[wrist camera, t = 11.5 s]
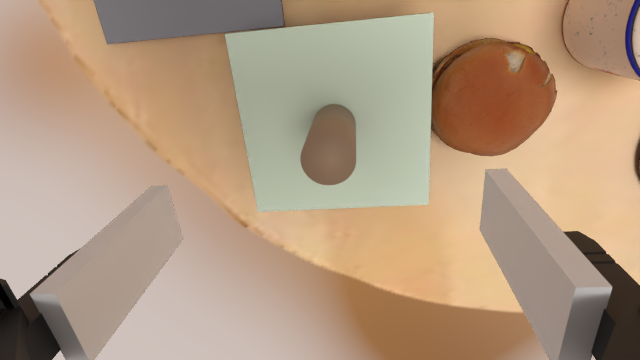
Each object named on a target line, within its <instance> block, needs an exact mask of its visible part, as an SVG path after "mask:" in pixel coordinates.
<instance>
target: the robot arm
mask: <svg viewBox="0 0 640 360" xmlns="http://www.w3.org/2000/svg"><path fill="white" fill-rule="evenodd" d="M480 231H481V233H482V235H483V237H484V239H485V241H486V243H487V244H488V246H489V248H490V250H491V252H492V254H493V256H494V257H495V259H496V261H497V263H498V265H499V267H500V269H501V270H502V272H503V274H504V276H505V278H506V280H507V282H508V283H509V285H510V287H511V289H512V291H513V293H514V295H515V297H516V298H517V300H518V302H519V304H520V306H521V308H522V310H523V311H524V313H525V315H526V317H527V319H528V320H529V322H530V324H531V326H532V328H533V330H534V332H535V334H536V336H537V337H538V339H539V341H540V343H541V345H542V347H543V349H544V350H545V352H546V354H547V356H548V358H549V360H591V357H592V354H593V356H594V357H595V359H596V360H640V285H639V284H638V283H637V282H636V281H635V280H634V279H633V278H632V277H631V276H630V275H629V274H628V273H627V272H626V271H625V270H624V269H623V268H622V267H621V266H620V265H619V264H616V263H615V260H614V259H613V258H612V257H611V256H610V255H609V254H606V251H605V250H604V249H603V248H602V247H601V246H600V245H599V244H598V243H597V242H596V241H594V240H593V239H591V238H589V237H587V236H586V235H584V234H582V233H580V232H578V231H572V232H563V231H562V230H561V229H560V228H559V227H558V226H557V224H556V223H555V222H554V221H553V220H552V219H551V218H550V217H549V216H548V214H547V213H546V212H545V211H544V210H543V209H542V208H541V207H540V206H539V204H538V203H537V202H536V201H535V200H534V199H533V198H532V197H531V195H530V194H529V193H528V192H527V191H526V190H525V189H524V188H523V187H522V185H521V184H520V183H519V182H518V181H517V180H516V179H515V178H514V177H513V175H512V174H511V173H510V172H509V171H508V170H507V169H488V170H486V171H485V181H484V191H483V201H482V211H481V221H480ZM182 240H183V235H182V232H181V229H180V225H179V222H178V219H177V216H176V212H175V209H174V205H173V202H172V199H171V195H170V192H169V189H168V186H151V187H150V188H148V189H147V190H146V191H145V192H144V193H143V194H142V195H141V196H140V197H138V198H137V199H136V200H135V201H134V202H133V203H132V204H130V206H128V207H127V208H126V209H125V210H124V211H123V212H121V213H120V214H119V215H118V216H117V217H116V218H115V219H114V220H112V221H111V222H110V223H109V224H108V225H107V226H106V227H104V228H103V229H102V230H101V231H100V232H99V233H98V234H97V235H95V236H94V237H93V238H92V239H91V240H90V241H89V242H88V243H87V244H85V245H84V246H83V247H82V248H81V249H79V250H77V251H75V252H74V253H72V254H70V255H69V256H67V257H66V258H65V259H64V260H63V261H62V262H61V263H60V264H58V265H57V267H55V268H54V269H53V270H51V271H50V272H49V273H48V275H47V276H44V277H43V279H41V280H40V281H39V282H38V283H36V285H34V286H33V287H32V288H31V289H30V290H28V291H27V292H26V293H25V294H24V295H23V296H22V297H21V298H19V299H18V300H17V299H16V297H15V296H14V294H13V292H12V290H11V289H10V287H9V285H8V283H7V282H6V280H3V279H0V360H52V359H53V358H54V357H55V356H56V354H57V353H58V352H59V351H60V350H61V352H62V354H63V356H64V357H65V359H66V360H94V359H95V358H96V357H97V355H98V354H99V353H100V351H101V350H102V349H103V347H104V346H105V345H106V343H107V342H108V341H109V339H110V338H111V336H112V335H113V334H114V332H115V331H116V330H117V328H118V327H119V326H120V324H121V323H122V322H123V320H124V319H125V318H126V316H127V315H128V313H129V312H130V311H131V309H132V308H133V307H134V305H135V304H136V303H137V301H138V300H139V298H140V297H141V296H142V294H143V293H144V292H145V290H146V289H147V287H148V286H149V285H150V284H151V282H152V281H153V280H154V278H155V277H156V275H157V274H158V273H159V271H160V270H161V269H162V267H163V266H164V265H165V263H166V262H167V261H168V259H169V258H170V256H171V255H172V254H173V252H174V251H175V250H176V248H177V247H178V246H179V244H180V243H181V241H182Z"/></svg>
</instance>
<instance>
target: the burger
mask: <svg viewBox="0 0 640 360" xmlns="http://www.w3.org/2000/svg"><path fill="white" fill-rule="evenodd" d="M556 95H557V91H556V87H555V79H554V76H553V74H550V72H549V68H548V66H547V64H546V62H545V61H543V60H542V59H541V57H540V55H539V54H538V53H535V52H534V51H533V49H532V48H531V47H529V46H526V45H522V44H520V43H519V42H505V41H503V40H500V39H495V38H491V39H488V38H486V39H482V40H475V41H471V43H468V44H465V45H462V46H461V47H459V48H457V49H456V50H455V51H453V52H452V53H451V54H450V55H448V56H447V57H446V58H445V59H444V60H443V61H442V62H440V64H439V66H438V68H437V69H436V71H435V72H434V74H433V75H432V103H431V129H432V130H433V131H434V133H435V134H436V135H437V136H438V137H439V138H440V139H441V140H442V141H443V142H444V143H445V144H446V145H448V146H450V147H452V148H453V149H456V150H459V151H462V152H467V153H472V154H475V155H480V156H496V155H502V154H505V153H507V152H509V151H511V150H513V149H515V148H516V147H518V146H519V145H520V144H522V143H523V142H524V141H526V140H527V139H528V138H529V137H530V136H531V135H532V134H533V133H534V132H535V131H536V130H537V129H538V128H539V127H540V126H541V125H542V124H543V123H544V121H545V120H546V118H547V117H548V115H549V114H550V112H551V110H552V107H553V105H554V103H555V100H556Z"/></svg>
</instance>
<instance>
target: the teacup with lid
mask: <svg viewBox="0 0 640 360" xmlns="http://www.w3.org/2000/svg"><path fill="white" fill-rule="evenodd" d="M563 36H564V40H565V44H566V46H567V49H568V51H569V52H570V54H571V55H572V56H573V57H574V58H575V59H576V60H577V61H578V62H579V63H581V64H582V65H584V66H586V67H588V68H591V69H595V70H599V71H603V72H607V73H611V74H615V75H619V76H623V77H627V78H631V79H635V80H639V81H640V0H569V3H568V5H567V8H566V11H565V15H564V20H563Z"/></svg>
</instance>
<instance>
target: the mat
mask: <svg viewBox="0 0 640 360" xmlns="http://www.w3.org/2000/svg"><path fill="white" fill-rule="evenodd" d="M94 3H95V6H96V10H97V13H98V16H99V19H100V22H101V26H102V29H103V32H104V35H105V39H106V42H107V44H114V43H124V42H134V41H143V40H153V39H163V38H173V37H182V36H192V35H202V34H212V33H222V32H231V31H241V30H251V29H261V28H270V27H280V26H285V23H284V15H283V7H282V0H94Z"/></svg>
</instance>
